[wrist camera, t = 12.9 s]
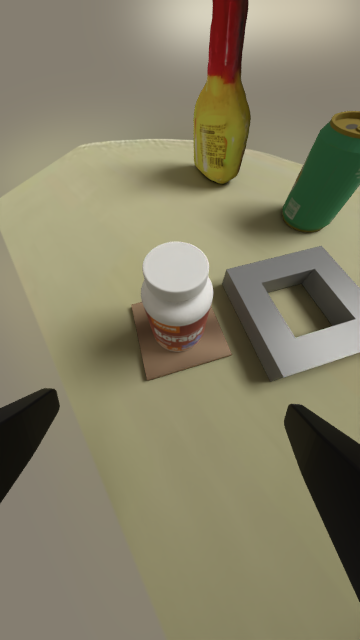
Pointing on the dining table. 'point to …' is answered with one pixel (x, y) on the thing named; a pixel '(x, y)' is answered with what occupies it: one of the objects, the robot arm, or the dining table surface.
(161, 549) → the dining table surface
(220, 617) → the dining table surface
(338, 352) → the holder
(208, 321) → the pad
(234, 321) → the dining table surface
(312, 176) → the beverage can
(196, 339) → the pill bottle
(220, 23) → the bottle
